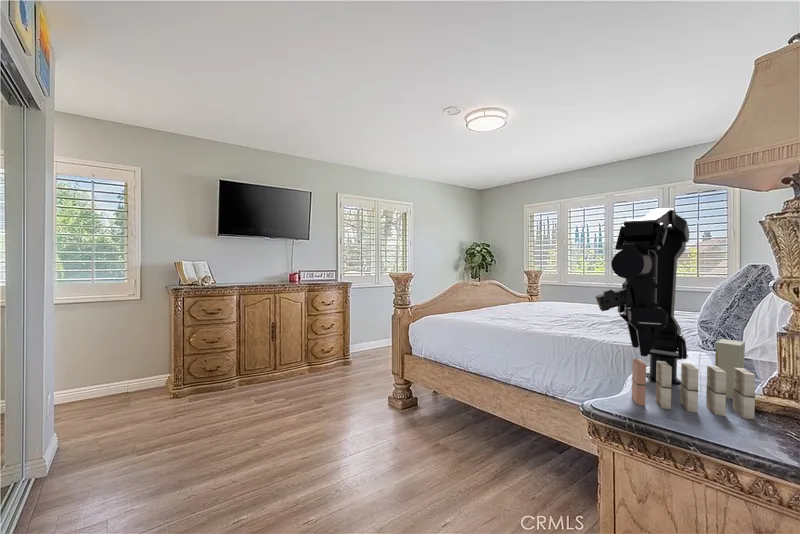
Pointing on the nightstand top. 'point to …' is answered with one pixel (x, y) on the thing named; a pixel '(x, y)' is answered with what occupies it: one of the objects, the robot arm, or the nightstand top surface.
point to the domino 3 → (744, 393)
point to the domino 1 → (639, 381)
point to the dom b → (663, 384)
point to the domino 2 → (689, 387)
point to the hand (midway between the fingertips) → (639, 351)
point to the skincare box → (729, 360)
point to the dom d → (716, 390)
